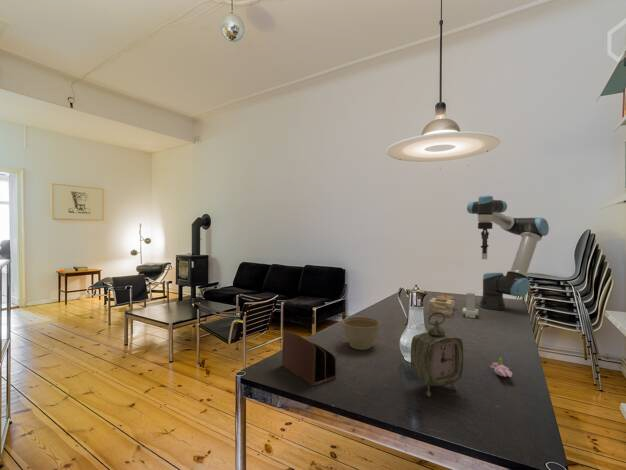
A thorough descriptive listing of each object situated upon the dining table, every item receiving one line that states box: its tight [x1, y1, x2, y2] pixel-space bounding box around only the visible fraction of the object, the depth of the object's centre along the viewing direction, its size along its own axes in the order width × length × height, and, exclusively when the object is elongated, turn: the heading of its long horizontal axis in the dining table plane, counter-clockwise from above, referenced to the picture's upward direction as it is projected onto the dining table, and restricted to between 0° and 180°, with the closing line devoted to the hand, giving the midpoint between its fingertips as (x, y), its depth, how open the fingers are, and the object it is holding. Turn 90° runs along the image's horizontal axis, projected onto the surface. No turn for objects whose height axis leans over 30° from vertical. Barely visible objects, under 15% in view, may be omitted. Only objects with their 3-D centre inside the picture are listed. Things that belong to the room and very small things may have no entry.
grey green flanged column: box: [462, 291, 479, 319], centre depth 189 cm, size 8×8×14 cm
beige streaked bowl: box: [428, 297, 454, 318], centre depth 195 cm, size 12×12×8 cm
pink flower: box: [489, 357, 513, 378], centre depth 113 cm, size 6×6×15 cm
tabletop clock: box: [410, 312, 464, 397], centre depth 102 cm, size 14×9×25 cm, turn 114°
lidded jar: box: [436, 293, 455, 307], centre depth 207 cm, size 11×11×9 cm
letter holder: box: [281, 331, 337, 386], centre depth 114 cm, size 10×20×14 cm, turn 37°
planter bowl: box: [342, 316, 381, 351], centre depth 140 cm, size 16×16×11 cm
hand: (484, 258), depth 187 cm, fingers open, 13 cm apart
